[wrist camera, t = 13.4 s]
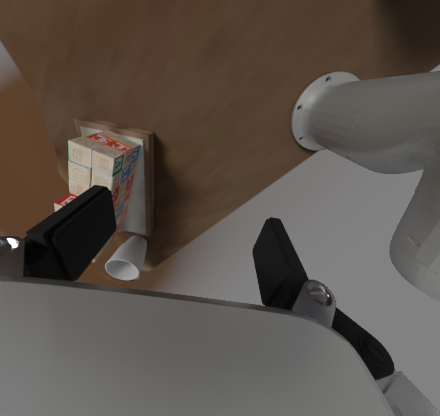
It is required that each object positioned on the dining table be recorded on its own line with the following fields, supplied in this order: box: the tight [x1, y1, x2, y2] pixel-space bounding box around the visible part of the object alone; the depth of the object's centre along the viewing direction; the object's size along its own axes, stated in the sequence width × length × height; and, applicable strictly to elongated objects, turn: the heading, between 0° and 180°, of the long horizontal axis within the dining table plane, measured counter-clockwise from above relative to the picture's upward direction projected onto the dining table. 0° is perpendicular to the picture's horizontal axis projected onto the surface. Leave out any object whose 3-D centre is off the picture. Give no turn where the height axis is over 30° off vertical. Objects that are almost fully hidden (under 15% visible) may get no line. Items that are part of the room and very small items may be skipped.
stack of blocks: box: [54, 130, 140, 262], centre depth 32 cm, size 21×6×12 cm, turn 154°
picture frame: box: [74, 117, 154, 237], centre depth 39 cm, size 13×26×3 cm, turn 168°
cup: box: [105, 236, 147, 280], centre depth 47 cm, size 8×8×10 cm
